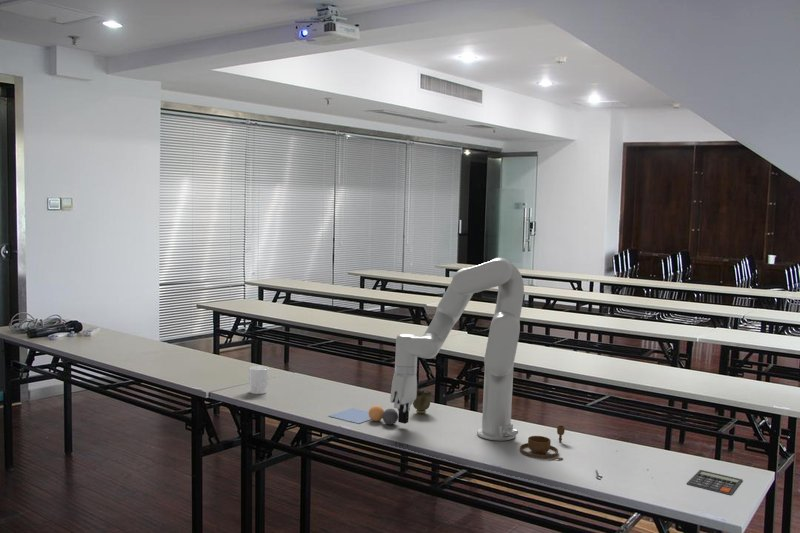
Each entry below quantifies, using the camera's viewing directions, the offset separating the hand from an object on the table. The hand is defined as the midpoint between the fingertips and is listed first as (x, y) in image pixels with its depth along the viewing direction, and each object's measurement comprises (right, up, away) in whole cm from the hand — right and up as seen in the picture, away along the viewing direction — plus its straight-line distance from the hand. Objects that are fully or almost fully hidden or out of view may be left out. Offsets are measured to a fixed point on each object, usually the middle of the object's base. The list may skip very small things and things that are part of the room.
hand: (403, 422), depth 239 cm
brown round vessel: (+7, -1, +19) cm, 20 cm away
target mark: (-17, 0, +12) cm, 21 cm away
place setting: (+46, -6, -19) cm, 50 cm away
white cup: (-58, +3, +42) cm, 72 cm away
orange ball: (-9, +2, +7) cm, 12 cm away
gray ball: (-4, +1, +3) cm, 6 cm away
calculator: (+89, -8, -42) cm, 98 cm away
